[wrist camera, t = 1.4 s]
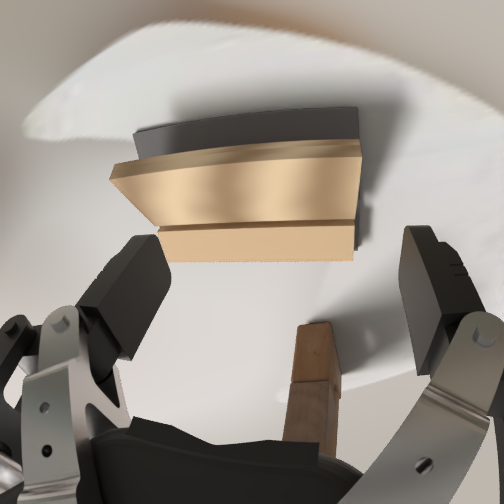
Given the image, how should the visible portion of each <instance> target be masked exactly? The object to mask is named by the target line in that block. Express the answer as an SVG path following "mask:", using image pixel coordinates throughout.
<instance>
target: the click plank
mask: <svg viewBox="0 0 504 504" xmlns="http://www.w3.org/2000/svg"><path fill="white" fill-rule="evenodd" d="M361 164H362V153H361V147H360V141H359V139H334V140H305V141H287V142H272V143H260V144H248V145H238V146H228V147H220V148H211V149H203V150H196V151H188V152H181V153H175V154H168V155H162V156H156V157H150V158H145V159H139V160H134V161H128V162H123V163H118V164H115V165H114V168H113V170H112V173H111V176H110V179H109V180H110V181H111V182H112V183H113V184H114V185H115V187H117V189H118V190H119V191H120V192H121V193H122V194H123V195H124V196H125V197H126V198H127V199H128V200H129V201H130V202H131V203H132V204H133V205H134V206H135V207H136V208H137V209H138V210H139V211H140V212H141V213H142V214H143V215H144V216H145V217H146V218H147V219H148V220H149V221H150V222H151V223H152V224H153V225H154V226H169V225H188V224H208V223H231V222H257V221H288V220H330V219H355V214H356V207H357V199H358V191H359V183H360V174H361Z"/></svg>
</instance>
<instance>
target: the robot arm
mask: <svg viewBox="0 0 504 504" xmlns="http://www.w3.org/2000/svg"><path fill="white" fill-rule="evenodd" d="M170 285H171V272H170V269H169V266H168V263H167V261H166V258H165V255H164V252H163V250H162V247H161V244H160V241H159V239H158V237H157V236H156V235H154V234H153V235H152V234H151V235H135V236H133V237H132V238H131V239H130V240H129V242H128V243H127V244H126V245H125V246H124V247H123V249H122V250H121V251H120V252H119V253H118V254H117V255H115V256H114V257H113V258H112V259H110V261H109V262H108V263H107V265H106V266H105V267H104V268H103V271H101V272H100V273H99V275H98V276H97V279H95V280H94V281H93V282H92V284H91V285H90V286H89V288H88V289H87V290H86V291H85V293H84V294H83V295H82V297H81V298H80V300H79V301H78V303H77V304H76V305H75V306H63V307H60V308H58V309H56V310H55V311H53V312H52V313H51V314H50V315H49V316H48V317H47V318H46V320H45V321H44V323H43V325H37V326H32V325H31V324H30V322H29V321H28V319H27V318H26V317H25V316H24V315H16V316H14V317H12V318H10V319H9V320H8V321H7V322H5V324H4V325H3V326H2V327H1V329H0V504H449V502H450V501H451V499H452V498H453V496H454V494H455V493H456V491H457V489H458V488H459V486H460V484H461V482H462V481H463V479H464V477H465V476H466V474H467V472H468V470H469V468H470V466H471V464H472V462H473V460H474V459H475V456H476V455H477V453H478V451H479V449H480V447H481V444H482V442H483V440H484V438H485V436H486V433H487V431H488V428H489V424H490V419H489V418H487V416H491V417H493V418H494V426H495V433H496V441H497V451H498V463H499V479H500V480H499V481H500V504H504V322H503V321H502V320H501V319H500V318H498V317H497V316H495V315H493V314H491V313H488V312H486V311H485V308H484V306H483V304H482V301H481V299H480V297H479V295H478V293H477V291H476V288H475V286H474V284H473V282H472V280H471V278H470V276H468V272H467V270H466V268H465V266H463V262H462V260H461V258H460V256H459V254H458V253H457V251H456V250H454V249H453V248H452V247H451V246H450V245H449V244H448V243H446V242H438V240H437V238H436V236H435V234H434V232H433V230H432V228H431V227H430V226H429V225H418V226H406V227H405V229H404V234H403V242H402V250H401V257H400V264H399V288H400V292H401V296H402V300H403V304H404V309H405V313H406V318H407V322H408V327H409V332H410V337H411V342H412V347H413V353H414V358H415V364H416V370H417V376H420V375H430V378H431V381H430V383H429V384H428V386H427V387H426V388H425V390H424V391H423V393H422V394H421V396H420V398H419V399H418V401H417V402H416V404H415V406H414V407H413V409H412V410H411V412H410V413H409V415H408V416H407V418H406V419H405V421H404V422H403V424H402V425H401V426H400V428H399V429H398V431H397V432H396V433H395V435H394V436H393V438H392V439H391V440H390V442H389V443H388V444H387V446H386V447H385V448H384V450H383V451H382V453H381V454H380V455H379V456H378V458H377V459H376V460H375V461H374V462H373V464H372V465H371V466H370V467H369V469H368V470H367V471H366V472H365V473H364V474H363V473H361V472H360V471H359V470H357V469H356V468H354V467H353V466H351V465H349V464H347V463H345V462H344V461H342V460H339V459H337V458H334V457H332V456H328V455H325V454H321V453H319V445H320V442H292V441H276V440H263V441H256V442H247V443H238V444H228V445H213V444H210V443H207V442H205V441H203V440H201V439H199V438H196V437H194V436H192V435H190V434H188V433H186V432H184V431H182V430H180V429H178V428H176V427H174V426H172V425H167V424H163V423H159V422H154V421H150V420H146V419H142V418H138V417H135V416H133V419H132V421H131V419H130V417H129V414H128V411H127V407H126V403H125V399H124V394H123V390H122V386H121V380H120V375H119V371H118V368H117V366H116V365H115V362H116V360H117V359H123V360H128V361H132V359H133V357H134V355H135V353H136V351H137V349H138V347H139V345H140V343H141V341H142V339H143V337H144V335H145V334H146V332H147V330H148V328H149V326H150V324H151V322H152V320H153V318H154V316H155V314H156V313H157V311H158V308H159V307H160V305H161V303H162V301H163V300H164V297H165V296H166V294H167V292H168V290H169V288H170ZM17 365H19V367H20V368H21V369H22V370H23V371H24V372H25V373H26V374H27V376H26V377H25V378H24V380H23V387H22V395H21V397H20V399H19V401H18V403H17V405H16V407H15V408H14V409H13V408H12V407H11V406H10V405H9V404H8V403H7V402H6V401H5V399H4V395H3V391H4V388H5V386H6V384H7V382H8V381H9V379H10V377H11V375H12V374H13V372H14V370H15V369H16V367H17Z"/></svg>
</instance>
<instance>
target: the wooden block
mask: <svg viewBox="0 0 504 504" xmlns="http://www.w3.org/2000/svg"><path fill="white" fill-rule="evenodd" d="M291 382H292V383H291V384H290V390H289V398H288V405H287V412H286V419H285V425H284V432H283V438H282V441H292V442H320V445H319V453H321V454H325V455H328V456H332V457H334V458H336V445H337V428H338V409H339V399H340V398H341V372H340V367H339V361H338V356H337V351H336V346H335V341H334V336H333V331H332V326H331V324H330V322H324V323H315V324H305V325H300V326H298V328H297V336H296V344H295V353H294V361H293V369H292V377H291Z"/></svg>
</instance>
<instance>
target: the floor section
mask: <svg viewBox="0 0 504 504" xmlns="http://www.w3.org/2000/svg"><path fill="white" fill-rule="evenodd" d="M133 138H134V141H135V145H136V149H137V153H138V156H139V159H145V158H150V157H156V156H162V155H168V154H175V153H181V152H188V151H196V150H203V149H211V148H220V147H228V146H238V145H248V144H260V143H272V142H287V141H305V140H334V139H359V125H358V108H357V107H342V108H311V109H293V110H280V111H268V112H258V113H248V114H240V115H232V116H224V117H217V118H210V119H204V120H198V121H192V122H186V123H180V124H175V125H170V126H165V127H160V128H155V129H150V130H146V131H141V132H137V133H134V134H133ZM359 200H360V183H359V191H358V199H357V207H356V214H355V219H330V220H288V221H257V222H231V223H208V224H188V225H169V226H160V229H159V230H158V232H157V233H158V236H159V239H160V242H161V245H162V248H163V251H164V254H165V256H166V259H167V262H288V261H289V262H293V261H294V262H296V261H297V262H298V261H353V253H354V251H358V234H359Z"/></svg>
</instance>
